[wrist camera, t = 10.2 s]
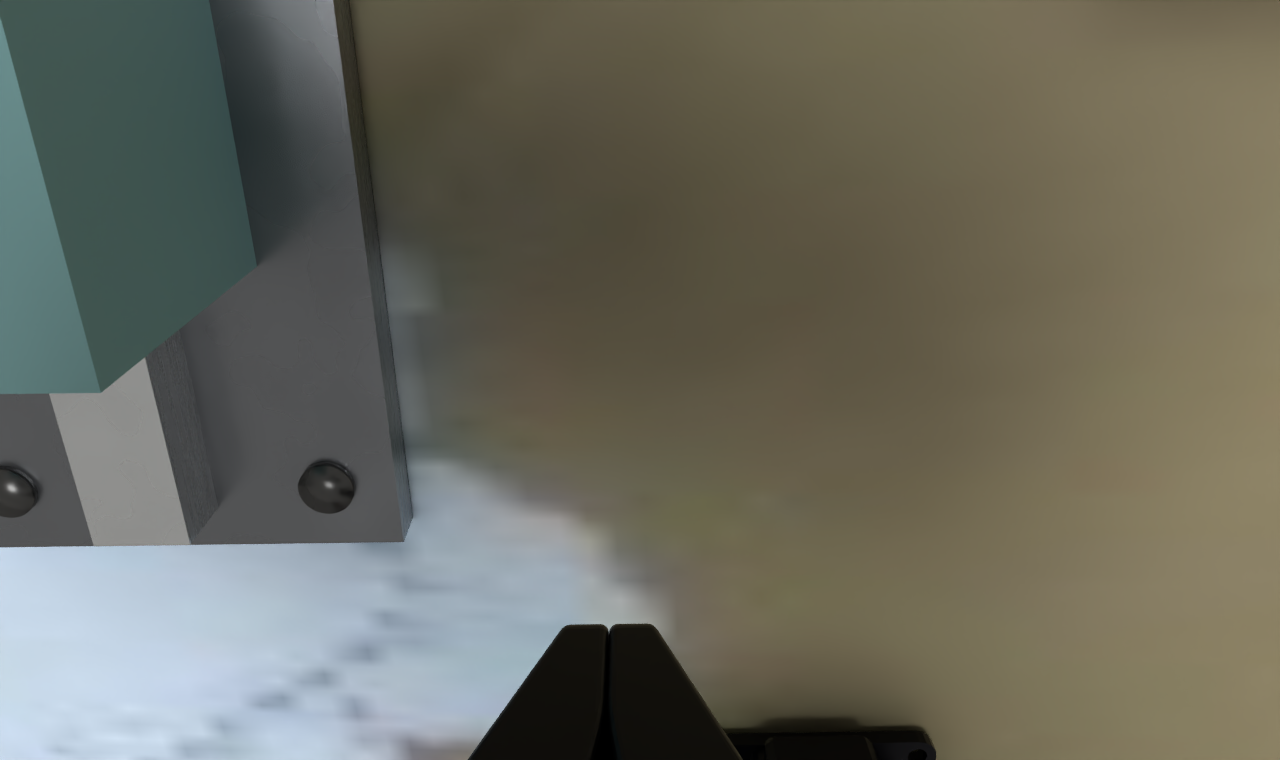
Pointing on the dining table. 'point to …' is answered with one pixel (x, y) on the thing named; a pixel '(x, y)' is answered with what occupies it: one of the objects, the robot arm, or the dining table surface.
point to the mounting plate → (246, 344)
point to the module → (111, 186)
